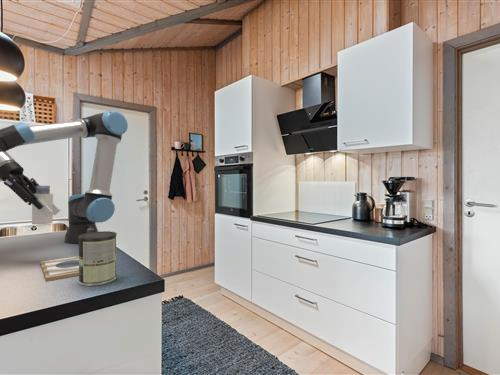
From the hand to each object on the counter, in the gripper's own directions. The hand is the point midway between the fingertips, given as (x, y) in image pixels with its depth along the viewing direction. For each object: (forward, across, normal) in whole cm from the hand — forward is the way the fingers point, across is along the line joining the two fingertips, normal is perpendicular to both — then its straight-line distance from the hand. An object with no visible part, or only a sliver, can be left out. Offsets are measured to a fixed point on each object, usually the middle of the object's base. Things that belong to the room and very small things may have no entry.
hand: (53, 213), depth 104 cm
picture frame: (+20, +8, -5) cm, 22 cm away
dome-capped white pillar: (0, 0, -5) cm, 5 cm away
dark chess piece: (+19, -10, -6) cm, 22 cm away
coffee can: (+30, +22, +5) cm, 37 cm away
